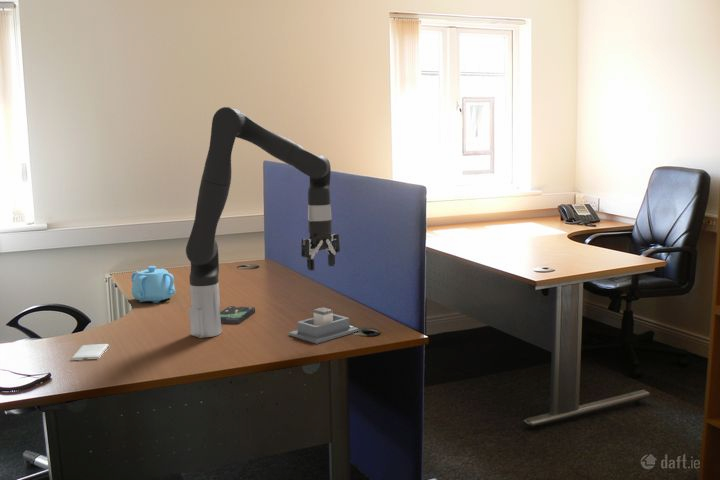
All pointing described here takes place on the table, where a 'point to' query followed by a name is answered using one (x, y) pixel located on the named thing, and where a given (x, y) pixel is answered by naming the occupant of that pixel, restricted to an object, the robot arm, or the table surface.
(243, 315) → the disk drive
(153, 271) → the decorative pot
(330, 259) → the robot arm
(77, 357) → the hard drive
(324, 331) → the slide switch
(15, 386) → the table surface
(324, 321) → the block
